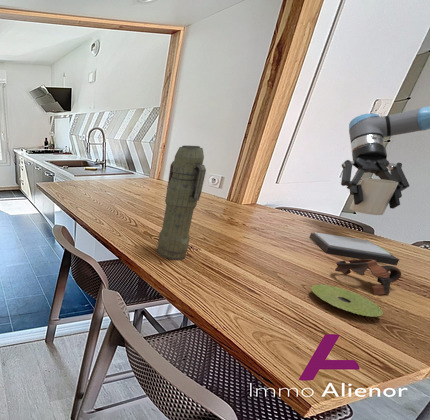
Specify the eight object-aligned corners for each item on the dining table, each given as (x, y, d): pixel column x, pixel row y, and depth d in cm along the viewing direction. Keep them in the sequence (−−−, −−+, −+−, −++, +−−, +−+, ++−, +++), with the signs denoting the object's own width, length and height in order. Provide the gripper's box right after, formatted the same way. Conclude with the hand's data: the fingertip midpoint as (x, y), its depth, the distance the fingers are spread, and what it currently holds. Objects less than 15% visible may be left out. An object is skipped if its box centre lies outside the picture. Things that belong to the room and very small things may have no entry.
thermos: (166, 243, 88) (184, 144, 77) (195, 259, 78) (221, 147, 67) (147, 247, 85) (163, 145, 74) (175, 264, 75) (198, 148, 63)
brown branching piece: (365, 297, 62) (352, 265, 63) (331, 290, 71) (321, 262, 72) (423, 291, 59) (409, 257, 61) (381, 284, 69) (369, 255, 70)
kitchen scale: (368, 246, 87) (372, 239, 87) (396, 265, 76) (400, 257, 75) (309, 237, 95) (311, 231, 94) (326, 253, 83) (329, 245, 82)
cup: (374, 210, 86) (389, 179, 82) (388, 216, 79) (404, 183, 76) (345, 207, 89) (357, 177, 85) (356, 212, 83) (370, 181, 79)
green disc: (306, 284, 66) (308, 278, 65) (371, 303, 59) (374, 296, 58) (311, 307, 58) (314, 300, 57) (387, 331, 51) (391, 324, 50)
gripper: (335, 142, 90) (340, 194, 82) (420, 144, 81) (436, 203, 73) (323, 155, 96) (327, 205, 88) (401, 159, 87) (413, 214, 79)
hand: (376, 204), depth 80 cm, fingers closed on cup, 7 cm apart
